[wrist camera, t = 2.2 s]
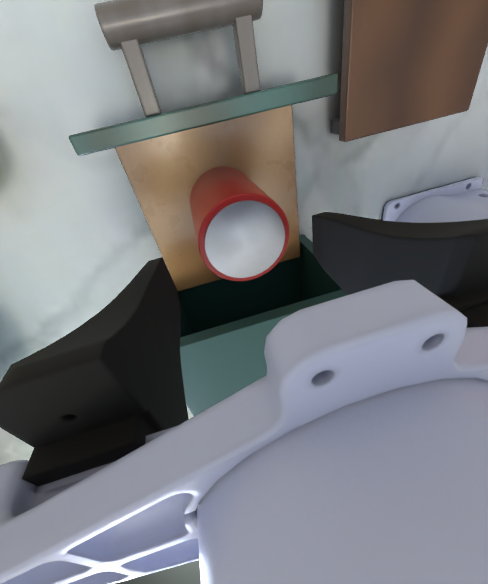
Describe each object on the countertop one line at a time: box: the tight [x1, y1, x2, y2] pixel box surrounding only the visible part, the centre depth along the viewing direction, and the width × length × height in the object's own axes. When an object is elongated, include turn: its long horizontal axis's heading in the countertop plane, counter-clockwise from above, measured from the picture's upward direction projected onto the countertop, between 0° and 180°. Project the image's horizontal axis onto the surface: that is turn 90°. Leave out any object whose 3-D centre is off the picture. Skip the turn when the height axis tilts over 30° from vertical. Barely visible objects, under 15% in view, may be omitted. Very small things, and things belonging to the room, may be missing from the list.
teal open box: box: [170, 235, 347, 416], centre depth 22 cm, size 13×12×9 cm
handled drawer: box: [69, 0, 338, 291], centre depth 16 cm, size 13×16×4 cm
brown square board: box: [330, 0, 488, 142], centre depth 15 cm, size 9×9×2 cm
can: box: [190, 167, 289, 281], centre depth 15 cm, size 5×5×7 cm
